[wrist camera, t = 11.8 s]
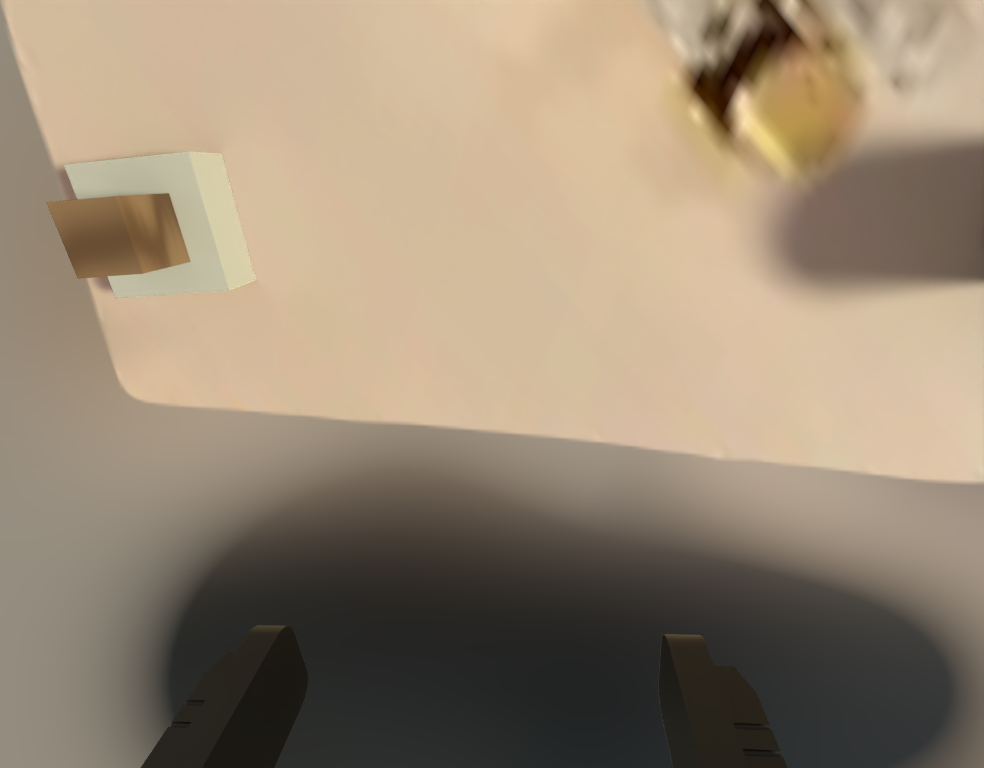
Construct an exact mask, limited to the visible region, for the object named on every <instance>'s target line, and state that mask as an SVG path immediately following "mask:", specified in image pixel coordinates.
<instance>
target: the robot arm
mask: <svg viewBox="0 0 984 768" xmlns="http://www.w3.org/2000/svg"><path fill="white" fill-rule="evenodd" d="M660 655H661V656H660V668H659V684H658V689H659V701H660V708H661V714H662V720H663V725H664V729H665V733H666V738H667V743H668V747H669V751H670V756H671V760H672V765H673V768H787V765H786V763H785V761H784V758H783V757H782V756H781V753H780V749H779V746H778V744H777V741H776V739H775V736H774V734H773V732H772V730H770V727H769V722H768V720H767V717H766V715H765V712H764V710H763V708H762V705H761V703H760V701H759V698H758V696H757V693H756V692H755V691H754V690H753V688H752V687H751V686H750V685H749V684H748V682H747V681H746V680H745V679H744V678H743V676H742V675H741V674H740V673H739V672H738V670H737V669H736V668H735V667H730V666H713V663H712V660H711V657H710V655H709V652H708V649H707V646H706V643H705V641H704V639H703V637H702V636H700V635H663V636H662V641H661V654H660ZM307 687H308V672H307V668H306V665H305V662H304V659H303V656H302V653H301V650H300V647H299V644H298V641H297V638H296V635H295V632H294V630H293V628H292V627H290V626H255V627H254V628H252V629H251V630H250V631H249V633H248V634H247V636H246V637H245V639H244V640H243V642H242V644H241V645H240V647H239V648H238V650H237V651H236V652H227V653H226V654H225V655H224V656H223V657H222V658H221V659H220V660H218V661H217V662H216V663H215V664H214V665H213V666H212V667H211V668H210V669H209V670H208V671H207V672H205V673H204V675H203V676H202V678H201V679H200V681H199V682H198V684H197V685H196V687H195V688H194V689H193V691H192V692H191V694H190V695H189V697H188V699H187V702H186V704H185V705H183V706H182V707H181V709H180V710H179V712H178V713H177V715H176V716H175V718H174V719H173V721H172V725H171V727H168V728H167V730H166V731H165V733H164V734H163V736H162V737H161V738H160V740H159V741H158V743H157V745H156V746H155V747H154V749H153V750H152V752H151V753H150V755H149V756H148V758H147V759H146V761H145V762H144V764H143V765H142V767H141V768H275V765H276V763H277V761H278V759H279V757H280V754H281V752H282V750H283V748H284V745H285V743H286V741H287V739H288V736H289V734H290V732H291V730H292V727H293V725H294V723H295V721H296V719H297V716H298V714H299V712H300V710H301V707H302V705H303V702H304V700H305V697H306V692H307Z"/></svg>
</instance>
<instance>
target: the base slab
mask: <svg viewBox="0 0 984 768" xmlns="http://www.w3.org/2000/svg"><path fill="white" fill-rule="evenodd" d="M64 167H65V169H66V172H67V174H68V177H69V180H70V182H71V185H72V187H73V190H74V192H75V195H76V198H77V200H78V199H89V198H100V197H110V196H126V195H145V194H164V193H169V195H170V198H171V201H172V204H173V207H174V211H175V214H176V217H177V220H178V223H179V226H180V229H181V233H182V236H183V239H184V242H185V245H186V248H187V252H188V255H189V258H190V261H191V262H188V263H184V264H180V265H176V266H172V267H168V268H164V269H160V270H156V271H152V272H148V273H144V274H133V275H119V276H107V277H108V280H109V282H110V285H111V287H112V290H113V293H114V295H115V298H127V297H142V296H156V295H171V294H186V293H200V292H215V291H229V290H232V289H235V288H237V287H240V286H243V285H245V284H248V283H251V282H253V281H256V278H255V274H254V270H253V267H252V263H251V259H250V256H249V252H248V248H247V245H246V241H245V237H244V234H243V230H242V226H241V223H240V219H239V215H238V212H237V208H236V204H235V200H234V197H233V193H232V189H231V186H230V182H229V178H228V175H227V171H226V167H225V164H224V160H223V156H222V154H219V153H203V152H179V153H170V154H160V155H151V156H141V157H132V158H123V159H113V160H104V161H94V162H85V163H75V164H66V165H64Z"/></svg>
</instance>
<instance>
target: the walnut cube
mask: <svg viewBox="0 0 984 768" xmlns="http://www.w3.org/2000/svg"><path fill="white" fill-rule="evenodd" d="M47 205H48V207H49V210H50V212H51V214H52V217H53V219H54V222H55V224H56V227H57V229H58V231H59V233H60V236H61V239H62V241H63V244H64V246H65V248H66V251H67V253H68V256H69V258H70V261H71V263H72V266H73V268H74V270H75V273H76V275H77V278H91V277H105V276H119V275H133V274H144V273H148V272H152V271H156V270H160V269H164V268H168V267H172V266H176V265H180V264H184V263H188V262H191V261H190V258H189V255H188V252H187V248H186V245H185V242H184V239H183V236H182V233H181V229H180V226H179V223H178V220H177V217H176V214H175V211H174V207H173V204H172V201H171V198H170V195H169V193H164V194H145V195H126V196H110V197H100V198H89V199H78V200H67V201H56V202H47Z"/></svg>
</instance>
